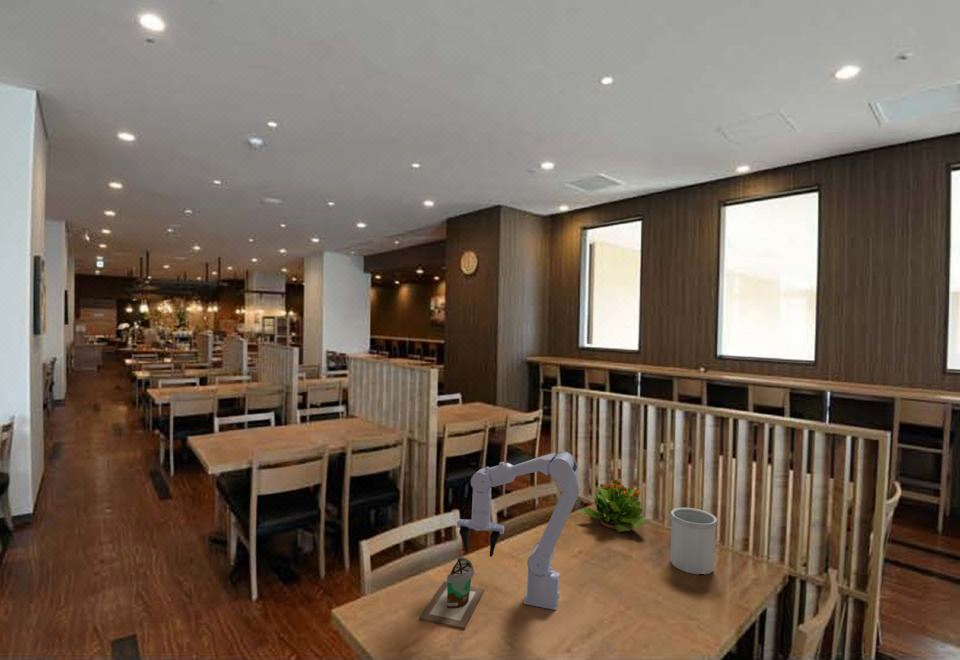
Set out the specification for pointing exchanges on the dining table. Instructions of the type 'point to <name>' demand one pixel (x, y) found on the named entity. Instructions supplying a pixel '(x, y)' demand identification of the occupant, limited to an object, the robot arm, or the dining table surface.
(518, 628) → the dining table surface
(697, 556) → the utensil holder
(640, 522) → the potted flower
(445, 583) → the brown picture frame
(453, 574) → the food container
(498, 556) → the dining table surface
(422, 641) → the dining table surface
